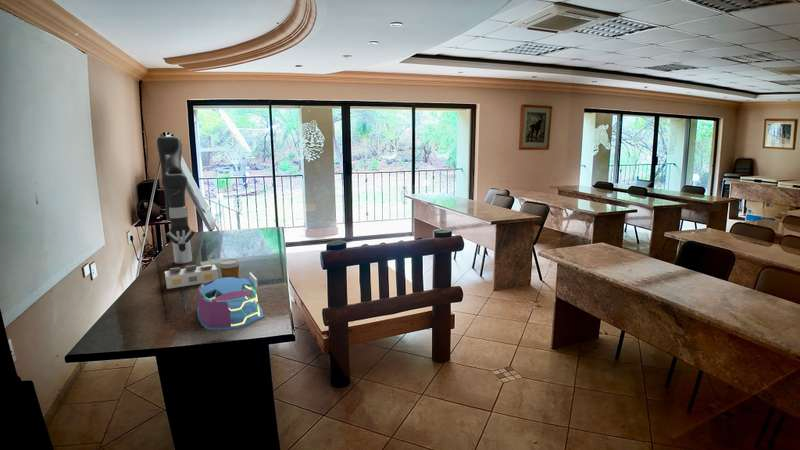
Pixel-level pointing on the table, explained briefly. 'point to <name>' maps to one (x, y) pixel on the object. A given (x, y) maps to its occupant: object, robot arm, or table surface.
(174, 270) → the rocker
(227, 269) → the disposable coffee cup
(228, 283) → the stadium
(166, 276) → the console
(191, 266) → the block
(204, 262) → the rocker
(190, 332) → the table surface
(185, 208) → the robot arm
